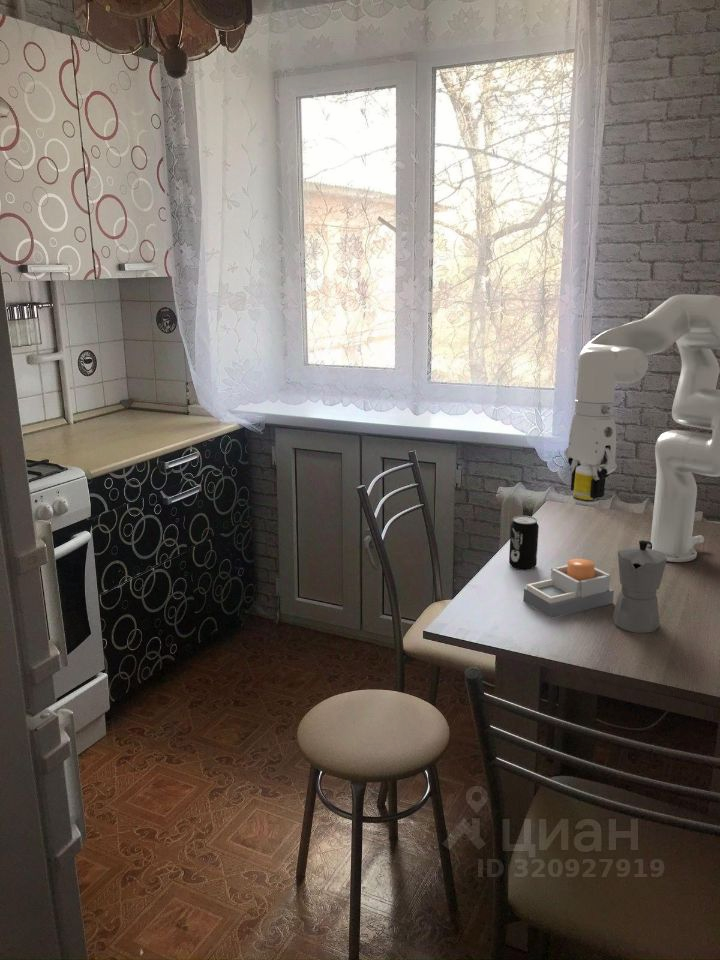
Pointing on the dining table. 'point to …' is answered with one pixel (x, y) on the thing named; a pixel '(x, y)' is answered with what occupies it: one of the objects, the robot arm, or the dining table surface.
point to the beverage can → (523, 542)
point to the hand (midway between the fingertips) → (587, 492)
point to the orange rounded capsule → (580, 569)
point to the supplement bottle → (584, 484)
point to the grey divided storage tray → (568, 593)
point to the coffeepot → (639, 588)
